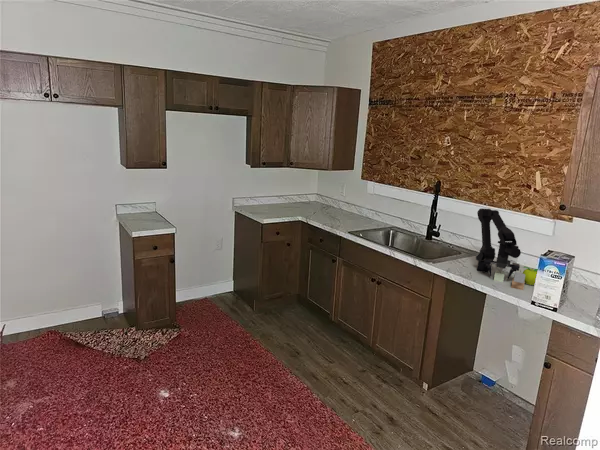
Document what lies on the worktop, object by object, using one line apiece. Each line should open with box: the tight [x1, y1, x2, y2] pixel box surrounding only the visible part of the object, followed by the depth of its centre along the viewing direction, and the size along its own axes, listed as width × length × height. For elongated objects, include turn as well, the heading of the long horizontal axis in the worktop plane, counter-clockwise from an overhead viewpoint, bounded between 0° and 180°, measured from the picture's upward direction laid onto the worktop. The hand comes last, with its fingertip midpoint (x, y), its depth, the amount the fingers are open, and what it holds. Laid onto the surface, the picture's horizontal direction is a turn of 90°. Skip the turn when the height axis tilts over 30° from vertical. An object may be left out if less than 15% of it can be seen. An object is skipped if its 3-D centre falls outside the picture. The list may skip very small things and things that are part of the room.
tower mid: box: [513, 271, 525, 284], centre depth 229 cm, size 5×5×4 cm
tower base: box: [510, 277, 526, 291], centre depth 230 cm, size 6×6×4 cm
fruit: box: [521, 266, 539, 286], centre depth 235 cm, size 9×9×10 cm
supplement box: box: [500, 256, 519, 274], centre depth 257 cm, size 7×7×13 cm
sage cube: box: [493, 269, 506, 283], centre depth 240 cm, size 5×5×5 cm
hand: (498, 277), depth 240 cm, fingers open, 9 cm apart
